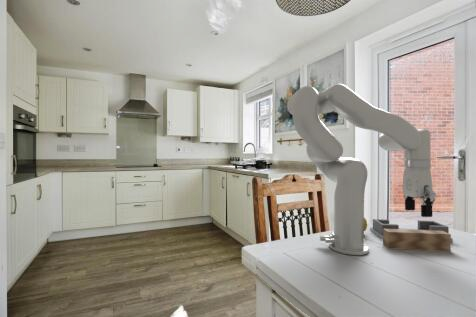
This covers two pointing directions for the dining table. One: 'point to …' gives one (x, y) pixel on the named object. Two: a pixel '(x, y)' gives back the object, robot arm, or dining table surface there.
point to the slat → (417, 239)
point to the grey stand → (422, 225)
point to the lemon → (365, 224)
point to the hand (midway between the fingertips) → (417, 213)
